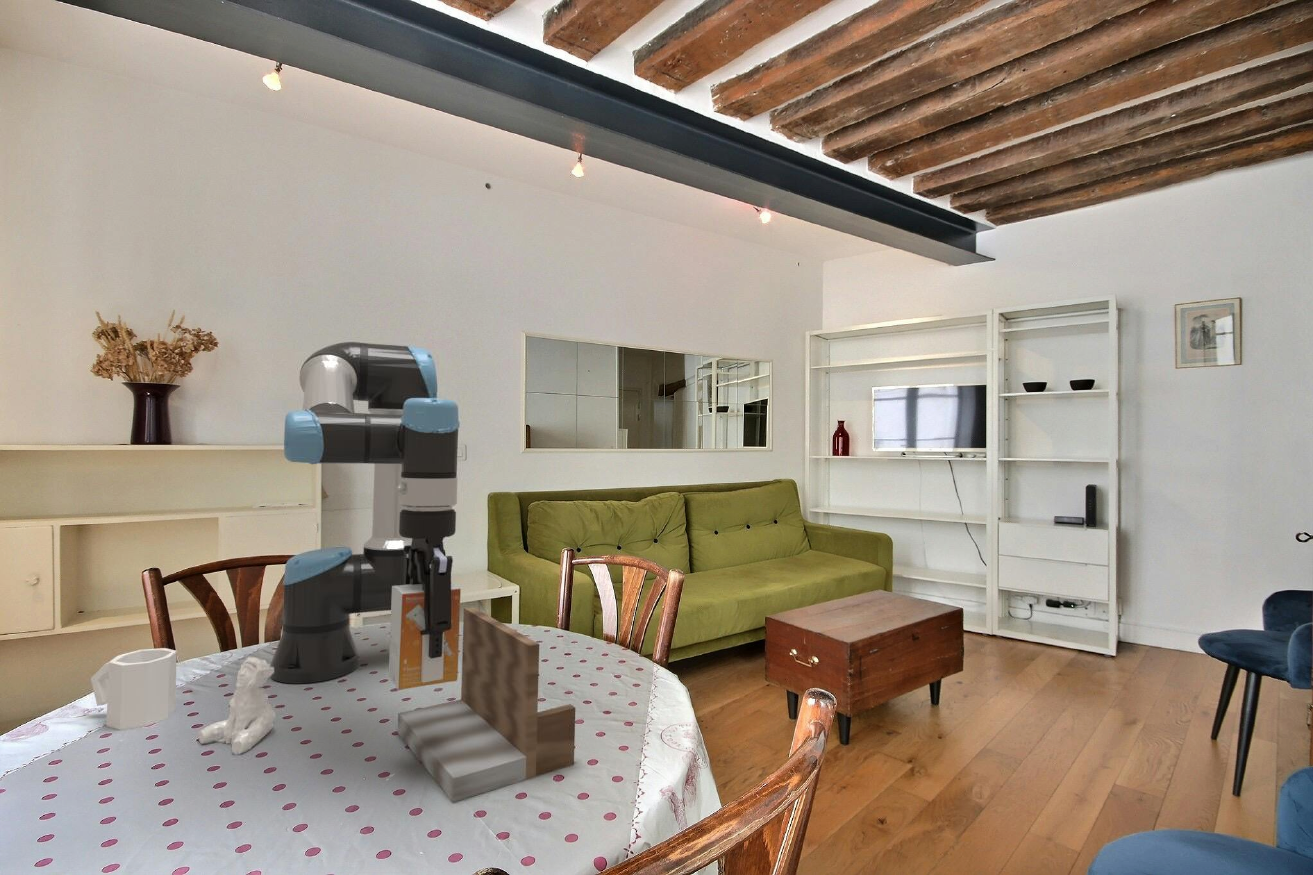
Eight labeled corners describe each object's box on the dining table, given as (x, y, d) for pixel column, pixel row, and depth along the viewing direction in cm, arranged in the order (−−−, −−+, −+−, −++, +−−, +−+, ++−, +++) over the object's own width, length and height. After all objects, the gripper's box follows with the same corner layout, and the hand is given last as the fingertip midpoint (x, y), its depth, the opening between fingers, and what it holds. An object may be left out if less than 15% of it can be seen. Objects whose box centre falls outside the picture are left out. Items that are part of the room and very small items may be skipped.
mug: (186, 708, 108) (188, 648, 108) (145, 730, 100) (147, 666, 100) (114, 705, 108) (117, 646, 108) (67, 728, 100) (70, 663, 100)
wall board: (397, 732, 101) (401, 616, 101) (503, 707, 112) (506, 602, 112) (452, 802, 82) (457, 658, 82) (573, 764, 93) (577, 637, 93)
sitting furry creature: (193, 743, 96) (196, 662, 96) (249, 721, 104) (251, 645, 104) (238, 756, 92) (241, 671, 93) (292, 732, 100) (294, 654, 101)
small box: (398, 692, 86) (400, 593, 87) (387, 677, 92) (390, 584, 92) (459, 681, 91) (461, 587, 91) (446, 668, 96) (448, 579, 96)
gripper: (381, 503, 97) (377, 659, 97) (423, 515, 82) (418, 700, 81) (432, 502, 102) (427, 650, 101) (480, 512, 86) (476, 687, 86)
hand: (423, 672), depth 91 cm, fingers closed on small box, 6 cm apart
